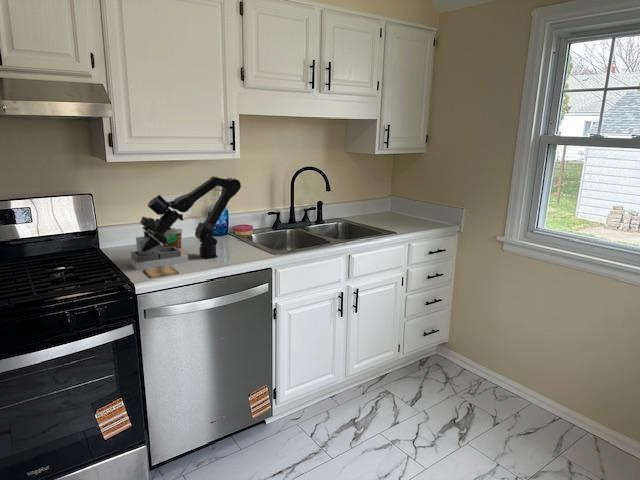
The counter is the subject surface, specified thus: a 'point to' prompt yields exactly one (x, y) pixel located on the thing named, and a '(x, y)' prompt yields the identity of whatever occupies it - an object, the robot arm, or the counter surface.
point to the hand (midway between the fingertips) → (141, 249)
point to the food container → (173, 238)
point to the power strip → (158, 258)
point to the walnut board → (160, 271)
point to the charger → (140, 244)
